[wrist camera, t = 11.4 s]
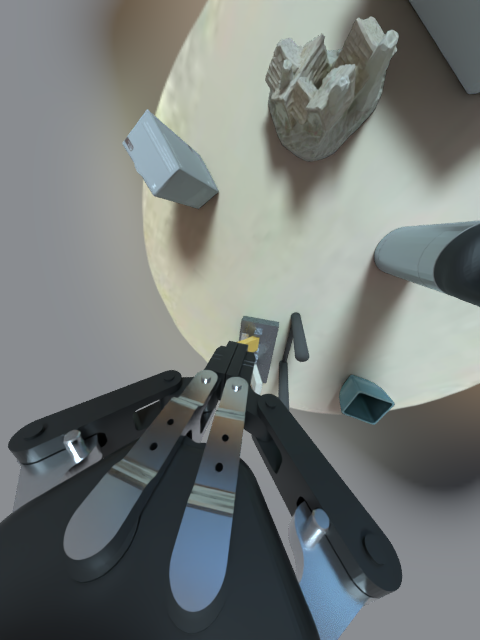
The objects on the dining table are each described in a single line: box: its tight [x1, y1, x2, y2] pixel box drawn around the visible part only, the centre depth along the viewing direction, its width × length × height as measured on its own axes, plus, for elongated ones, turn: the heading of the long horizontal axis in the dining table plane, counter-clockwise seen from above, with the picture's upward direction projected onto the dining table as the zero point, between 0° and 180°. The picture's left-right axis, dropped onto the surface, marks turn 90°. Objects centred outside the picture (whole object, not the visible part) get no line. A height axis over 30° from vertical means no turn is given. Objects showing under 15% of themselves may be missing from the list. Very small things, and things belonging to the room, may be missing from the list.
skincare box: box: [123, 110, 219, 209], centre depth 33 cm, size 8×7×16 cm
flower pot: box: [339, 375, 395, 425], centre depth 49 cm, size 9×9×9 cm
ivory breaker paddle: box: [251, 364, 262, 395], centre depth 50 cm, size 2×4×8 cm, turn 174°
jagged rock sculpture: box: [265, 16, 399, 161], centre depth 25 cm, size 16×16×15 cm
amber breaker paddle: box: [237, 336, 260, 352], centre depth 47 cm, size 2×4×8 cm
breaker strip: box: [239, 316, 279, 383], centre depth 53 cm, size 10×20×5 cm, turn 174°
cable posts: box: [278, 312, 309, 410], centre depth 44 cm, size 2×18×18 cm, turn 173°
